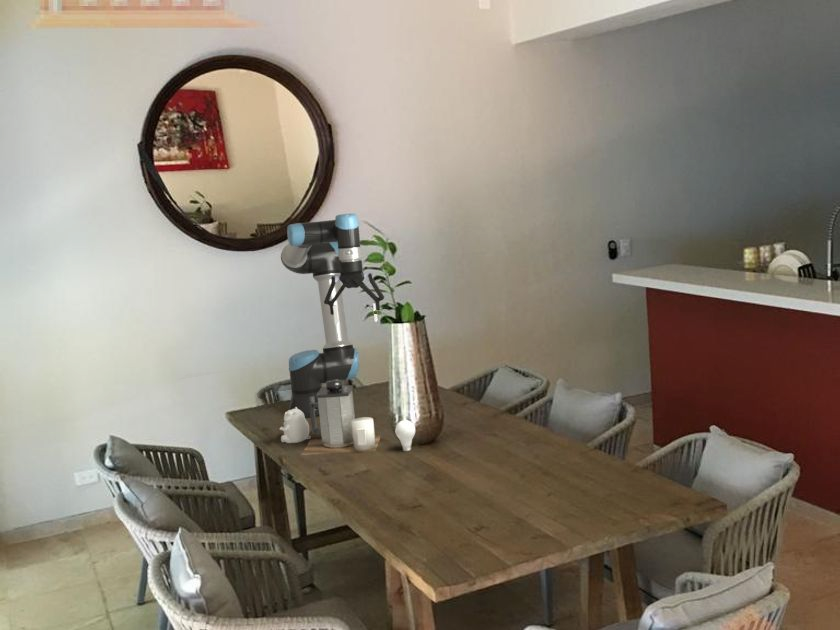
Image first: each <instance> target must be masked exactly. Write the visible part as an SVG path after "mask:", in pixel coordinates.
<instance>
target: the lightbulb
mask: <svg viewBox="0 0 840 630" xmlns="http://www.w3.org/2000/svg"><path fill="white" fill-rule="evenodd" d="M394 431H395V435H396V437H397V438H398V439H399V441H400V444H401V446H402V451H403V452H409V451H411V450H412V443H413V438H414V437H415V434H416V426H415V425H414V423H413V422H412V421H410V420H409V419H408V420H407V419H403V420H400V421H399V422H398V423H397V424H396V425H395V429H394Z"/></svg>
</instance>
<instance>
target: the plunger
mask: <svg viewBox="0 0 840 630" xmlns="http://www.w3.org/2000/svg"><path fill="white" fill-rule="evenodd" d="M325 384H326V385H325V387H327V390H330V391H337V390H339V389H342V386H343V385H342V381H341V380H329V381H327V382H326V383H325Z"/></svg>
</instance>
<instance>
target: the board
mask: <svg viewBox="0 0 840 630" xmlns="http://www.w3.org/2000/svg"><path fill="white" fill-rule="evenodd" d="M381 437H382V435H381V434H380V435H375V444H376V447H375V448H373V449H371V450H366V451H365V452H374V451H377V448H378V445H379V442H380V439H381ZM358 452H359V453H360V452H362V451H358V450H355V449H354V445H352V446H349V447H344V448H326V447H324V446H323V443H322V438H319V439H317V438H315V439H309V441H308V443H307V444H306V446H305V448H304V449H303V451H302V453H301V454H300V456H307V455H308V456H309V455H327V454H341V453H343V454H344V453H345V454H346V453H358Z"/></svg>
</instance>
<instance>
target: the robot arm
mask: <svg viewBox="0 0 840 630" xmlns="http://www.w3.org/2000/svg"><path fill="white" fill-rule="evenodd" d="M358 219H359V218H358V215H357V214H356V213H343V214H342V213H341V214H336V216H335V219H331V220H319V221H312V222H311V221H310V222H309V221H308V222H297V223H292V224H288V225H287V227H286V228H287V230H286V233H287V241H288V243H287V244H286V245H285V246H284V247H283V249H282V251H281V253H280V261H281V263H282V265H283V266H284V267H285V269H287V270H289V271H290V272H292V273H294V274H300V275H308V274H312V279H314V280H315V281H316V282H317V286H318V293H319V294H318V295H319V300H320V306H321V307H320V309H321V316H322V322H323V323H322V324H323V331H324V338H325V344H324V345H323V347H322V352H319V350H318V349H309V350H303V351H300V352H296V353H295V354H292V355H291V356H290V357H289V358H288V371H289V377H290V379H289V380H290V387H291V388H290V389H291V397H290V402H289V405H288V406H289V408H288V410H292V409H296V408H295V407H297V409H299V410H301V411H302V412H303V413H304V415H305V418H311V415H310V406H309V404H310V403H318V398H316V395H317V393H318V392H319V390H320V389H321V387H323V384H326V382H327V381H329V380H341V381H348V380H353V379H356V378H357V376H358V374H359V370H360V369H359V368H360V354H359V351H358V348H355V347H354V346H353V345H354V344H353V343H352V342H351V341H349V337H348V330H347V329H348V328H347V322H346V321H347V320H346V314H345V307H344V306H345V305H344V300H343V295H342V293H343V292H344V290H345V289H346V288H347V289H353V288H354V289H357V288H360V289H362V290H363V291H364V292H365V293H366V294H367V295H368V296H369V297H370V299H372V300H373V302H372V305H373V306H372V307H373V312H374V311H375V310H381V308H380V307H381V306H380V302H381V301H383V300H384V299H385V295H384V294H383V291H381V289H380V288H379V286H378V284H377V283H376V281H375V279H374V276H373V273H372V272H369V273H366V274H364V270H363V261H362V260H361V259H362V249H361V239H360V229H359V227H360V223H359V220H358ZM359 243H360V244H359ZM364 279H366V280H367V281H369V283H370V284H371V286H372V288H373V289H374V292H373V290H371V289H370V288H369V287H368V286H367V285H366V284H365V282H363V281H364ZM341 283H342V284H341ZM375 293H376V294H377V295H376V294H375ZM373 315H374V317H373V318H374V323H377V322H378V320H379V319H378V318H379V317H378V313H377V314H374V313H373ZM314 409H315V417H317V416H319V407H316V408H314Z"/></svg>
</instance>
